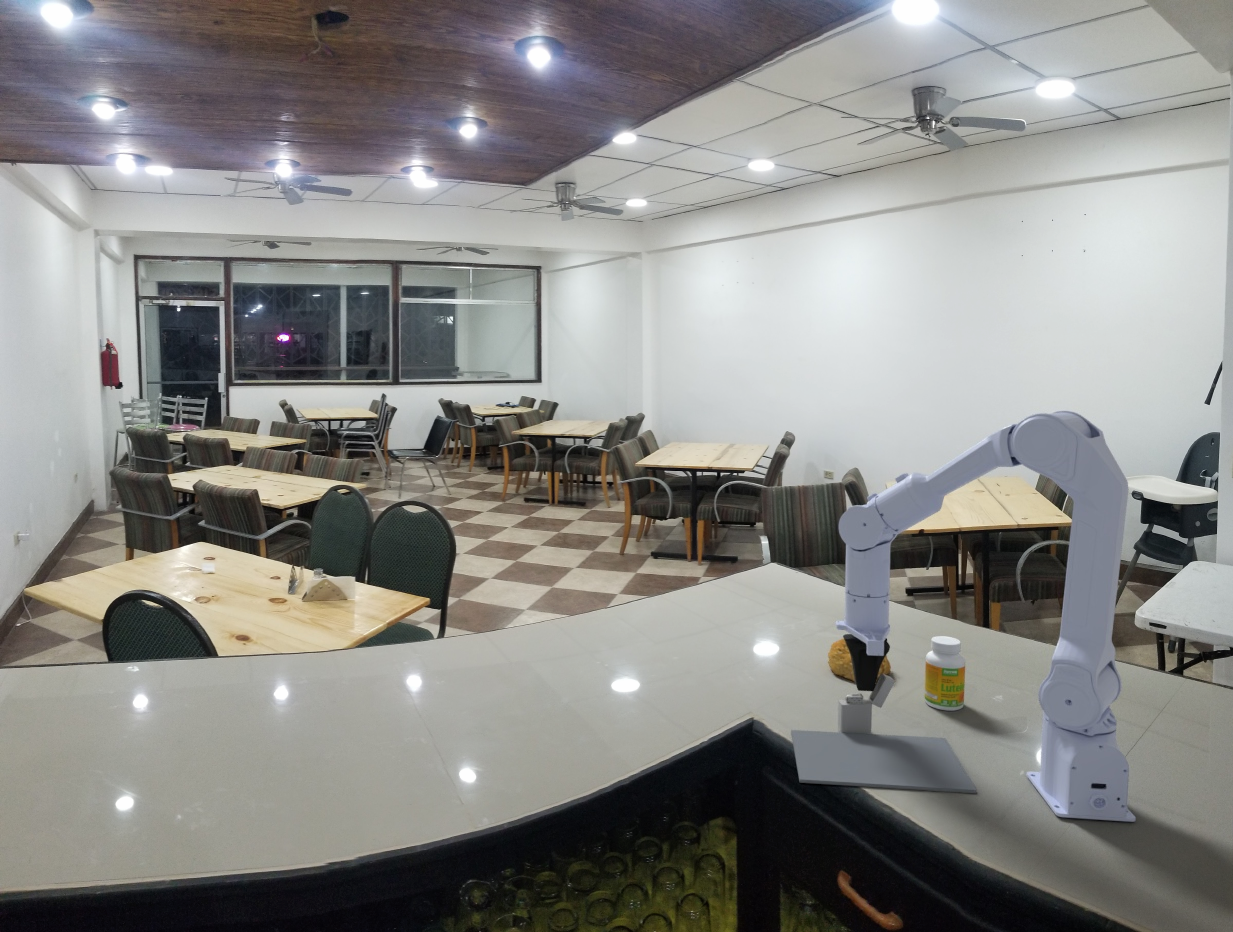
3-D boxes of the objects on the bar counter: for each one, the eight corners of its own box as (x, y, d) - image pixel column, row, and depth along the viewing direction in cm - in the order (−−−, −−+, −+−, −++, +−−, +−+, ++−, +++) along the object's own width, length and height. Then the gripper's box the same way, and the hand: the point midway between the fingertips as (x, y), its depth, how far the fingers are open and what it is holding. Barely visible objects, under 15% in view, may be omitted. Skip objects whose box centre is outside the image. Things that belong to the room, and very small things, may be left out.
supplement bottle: (940, 713, 112) (942, 647, 111) (916, 699, 118) (918, 636, 117) (972, 708, 114) (974, 644, 113) (947, 694, 119) (949, 632, 118)
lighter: (841, 735, 106) (842, 678, 105) (837, 729, 108) (838, 673, 107) (893, 734, 106) (895, 677, 105) (888, 728, 108) (890, 672, 107)
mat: (976, 793, 91) (976, 789, 91) (799, 782, 94) (799, 779, 93) (945, 740, 104) (945, 737, 104) (791, 732, 107) (791, 729, 107)
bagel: (829, 682, 125) (830, 653, 124) (826, 659, 136) (827, 632, 135) (894, 687, 123) (895, 658, 122) (886, 664, 133) (887, 636, 133)
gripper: (830, 578, 114) (828, 668, 115) (844, 606, 99) (842, 709, 101) (880, 579, 113) (878, 670, 114) (902, 607, 98) (899, 711, 100)
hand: (864, 689), depth 107 cm, fingers closed
